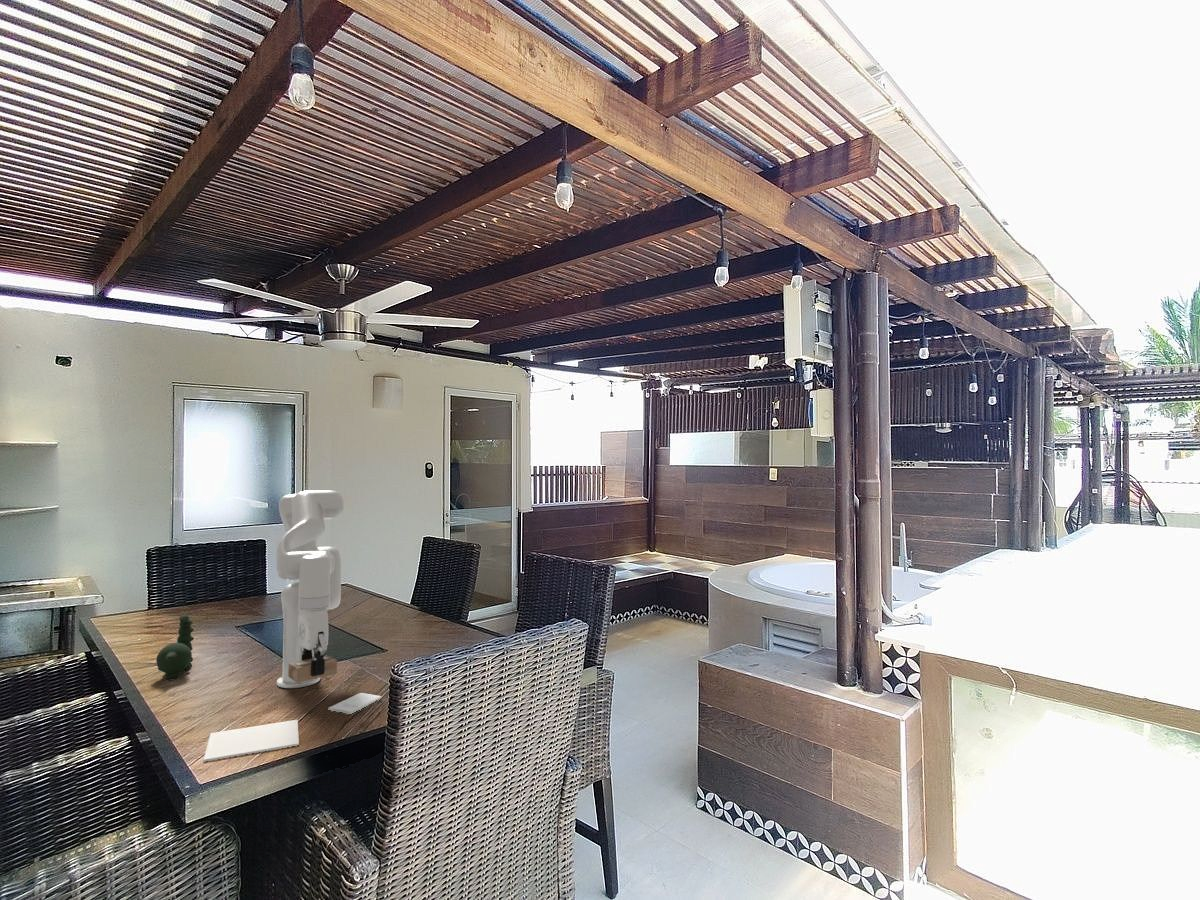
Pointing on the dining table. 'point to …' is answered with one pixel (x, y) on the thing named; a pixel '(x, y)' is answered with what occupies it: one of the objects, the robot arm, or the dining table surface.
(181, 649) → the toy figurine
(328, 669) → the slotted tan block
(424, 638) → the dining table surface
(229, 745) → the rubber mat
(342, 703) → the external hard drive
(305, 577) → the robot arm
